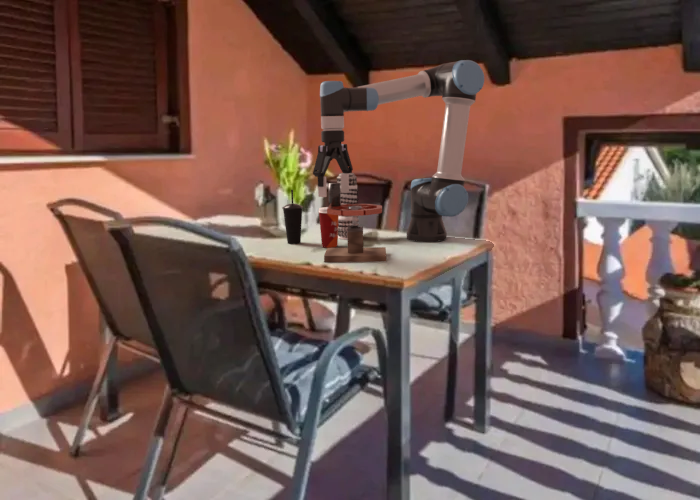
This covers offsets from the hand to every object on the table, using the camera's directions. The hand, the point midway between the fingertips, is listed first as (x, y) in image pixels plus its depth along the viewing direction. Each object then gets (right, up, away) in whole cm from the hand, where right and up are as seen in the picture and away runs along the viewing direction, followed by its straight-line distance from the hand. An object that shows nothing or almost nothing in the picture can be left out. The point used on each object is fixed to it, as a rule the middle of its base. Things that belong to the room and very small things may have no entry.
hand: (334, 194), depth 223 cm
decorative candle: (+5, -14, +38) cm, 41 cm away
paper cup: (-2, -17, +21) cm, 27 cm away
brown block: (+7, -21, 0) cm, 22 cm away
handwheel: (+7, -12, -2) cm, 14 cm away
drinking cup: (-16, -16, +29) cm, 37 cm away
